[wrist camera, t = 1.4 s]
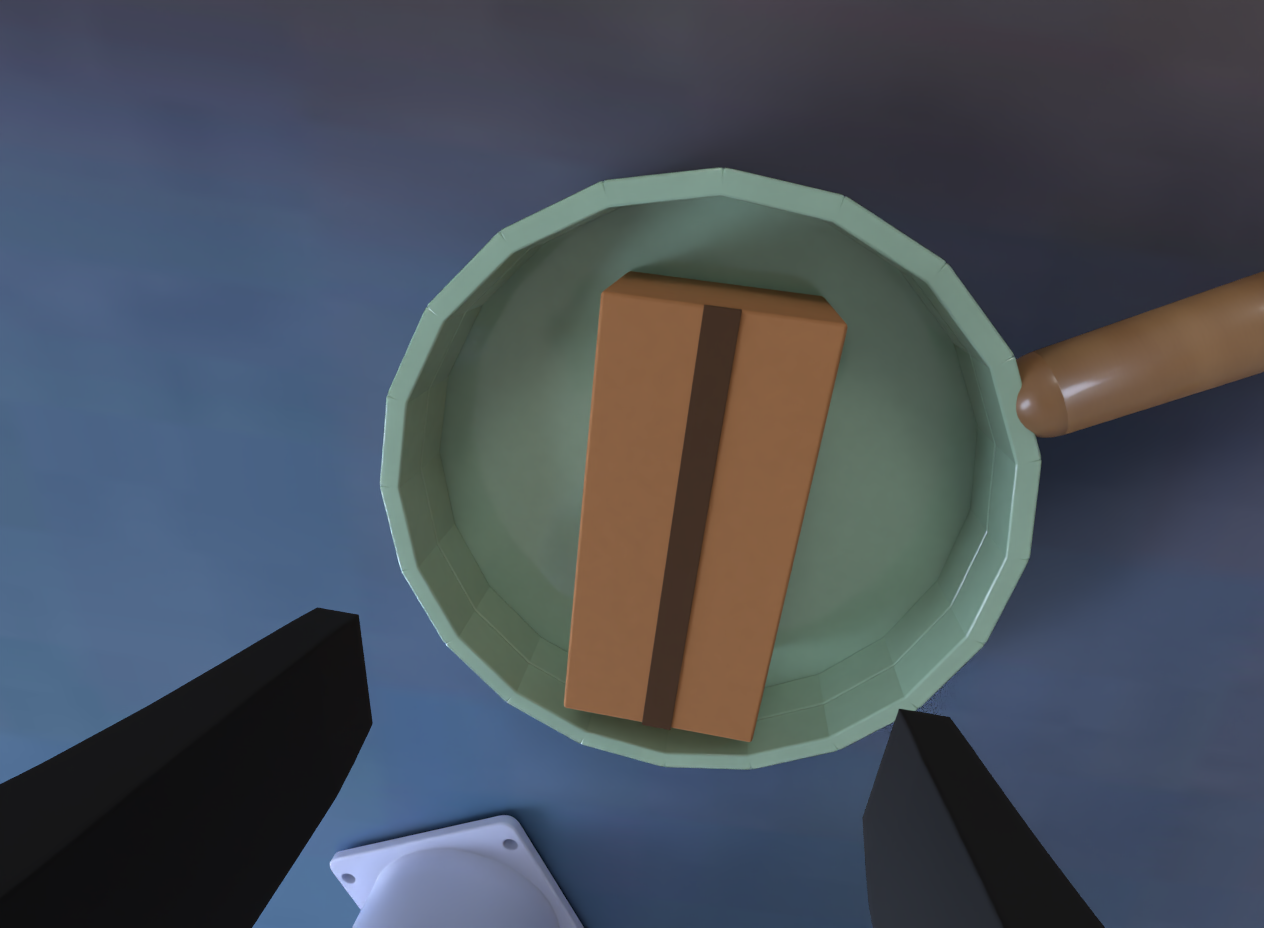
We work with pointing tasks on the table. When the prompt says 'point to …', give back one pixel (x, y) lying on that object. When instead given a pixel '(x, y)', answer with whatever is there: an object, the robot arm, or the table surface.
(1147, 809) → the table surface
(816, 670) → the pan
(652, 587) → the taped cardboard box
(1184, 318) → the pan handle
